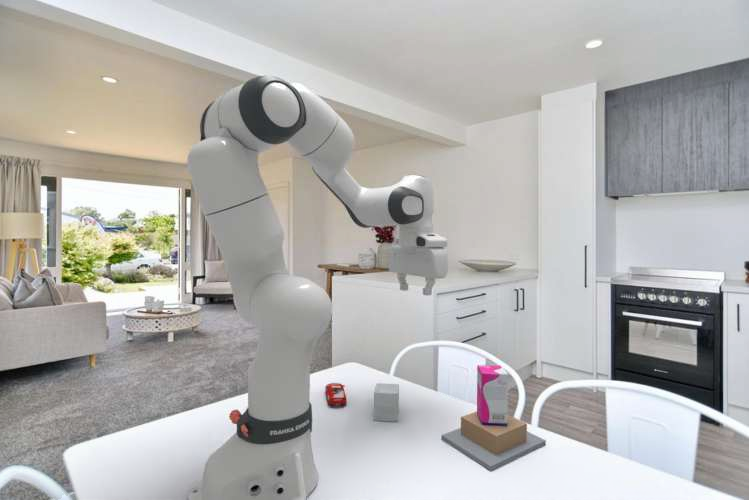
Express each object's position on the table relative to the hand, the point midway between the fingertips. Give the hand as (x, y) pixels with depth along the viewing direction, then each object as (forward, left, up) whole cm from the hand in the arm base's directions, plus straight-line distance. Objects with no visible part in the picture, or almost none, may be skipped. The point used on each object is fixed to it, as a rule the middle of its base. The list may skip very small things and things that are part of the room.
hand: (415, 292), depth 102 cm
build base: (+5, -22, -31) cm, 38 cm away
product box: (-8, +1, -31) cm, 32 cm away
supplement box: (+5, -21, -26) cm, 34 cm away
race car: (-14, +17, -32) cm, 39 cm away
